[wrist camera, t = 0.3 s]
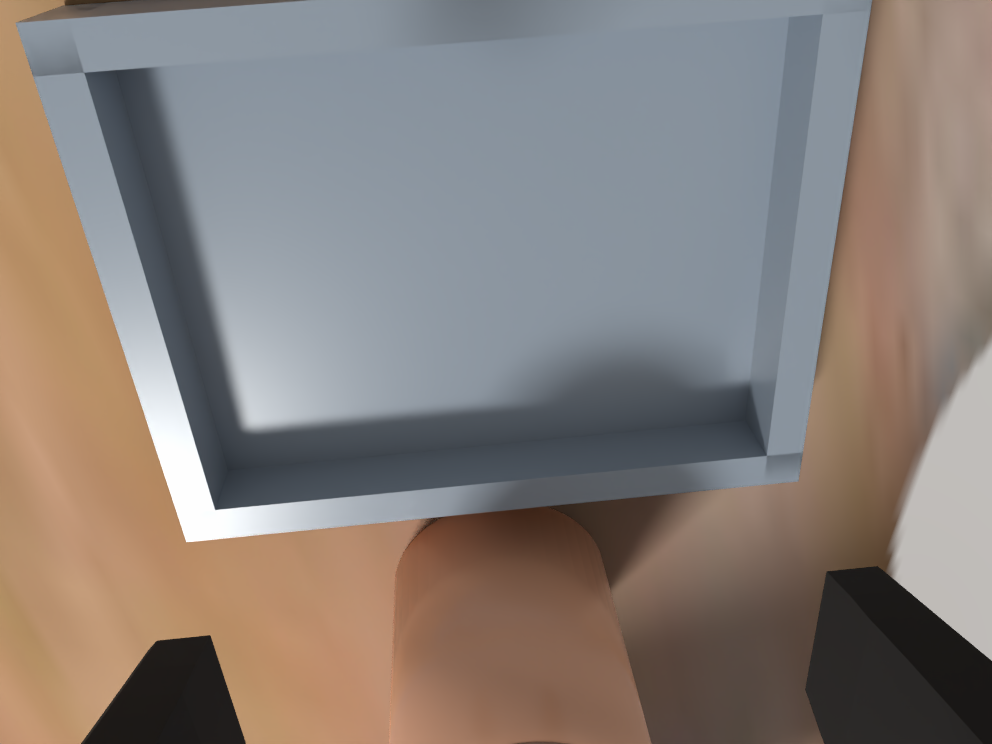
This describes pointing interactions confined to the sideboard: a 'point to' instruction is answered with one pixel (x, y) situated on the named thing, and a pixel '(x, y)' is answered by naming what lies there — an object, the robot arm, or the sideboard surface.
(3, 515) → the sideboard surface
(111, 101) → the tray
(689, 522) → the sideboard surface
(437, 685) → the cup
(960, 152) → the sideboard surface
